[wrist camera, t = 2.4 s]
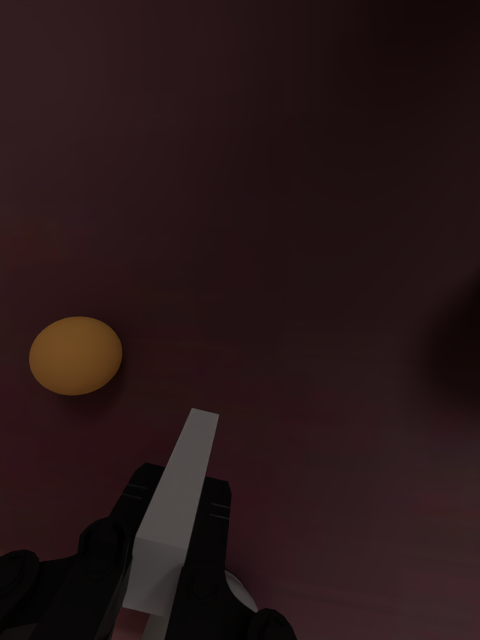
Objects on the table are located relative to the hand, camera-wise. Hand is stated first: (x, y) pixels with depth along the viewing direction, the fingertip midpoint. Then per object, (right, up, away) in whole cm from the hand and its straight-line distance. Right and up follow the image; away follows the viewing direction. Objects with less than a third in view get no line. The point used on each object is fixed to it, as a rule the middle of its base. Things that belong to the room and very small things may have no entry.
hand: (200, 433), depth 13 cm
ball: (-9, +4, +4) cm, 11 cm away
